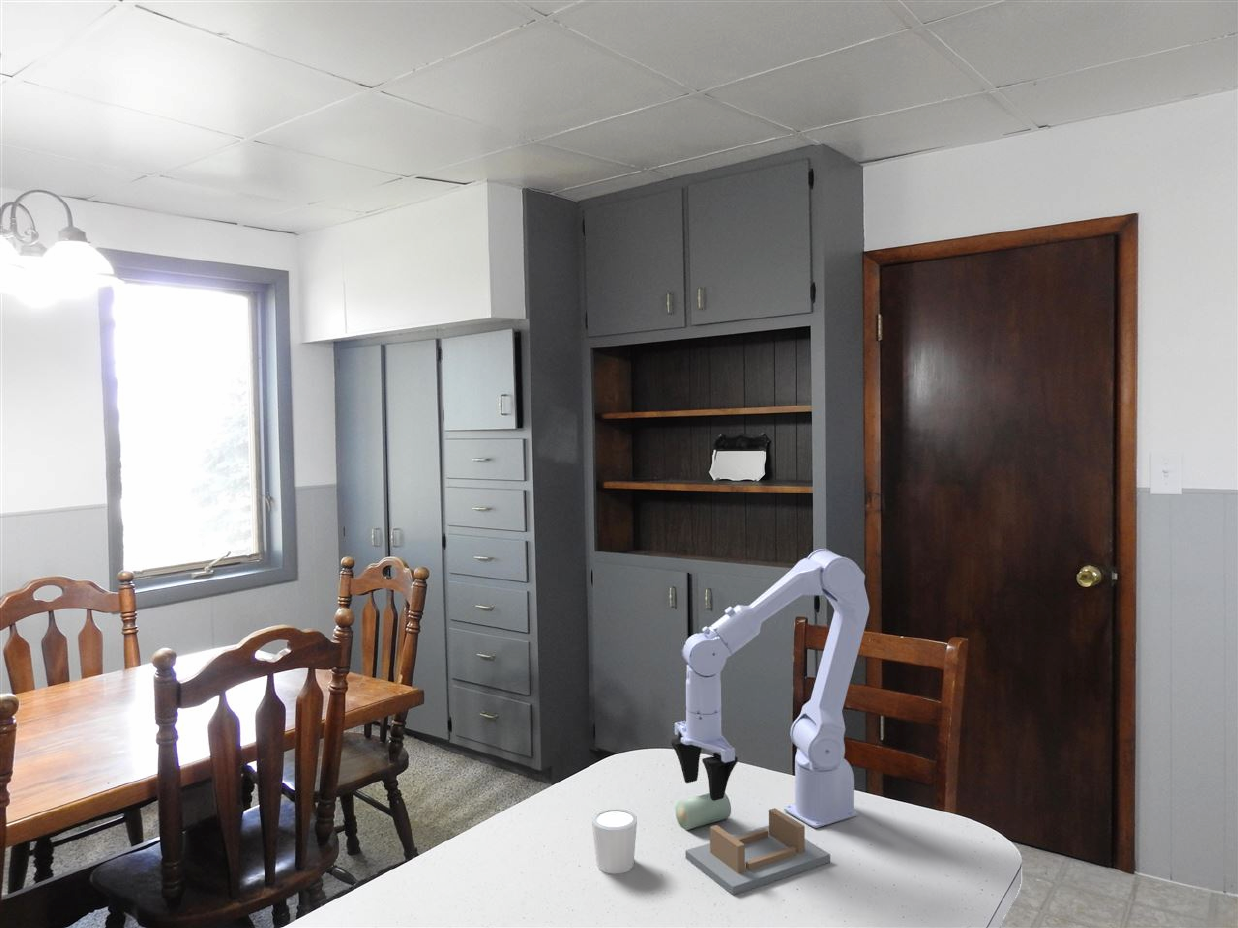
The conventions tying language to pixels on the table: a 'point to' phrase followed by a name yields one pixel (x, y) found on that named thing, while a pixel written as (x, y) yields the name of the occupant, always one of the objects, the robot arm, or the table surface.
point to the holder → (757, 854)
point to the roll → (701, 811)
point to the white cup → (614, 840)
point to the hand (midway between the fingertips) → (703, 789)
